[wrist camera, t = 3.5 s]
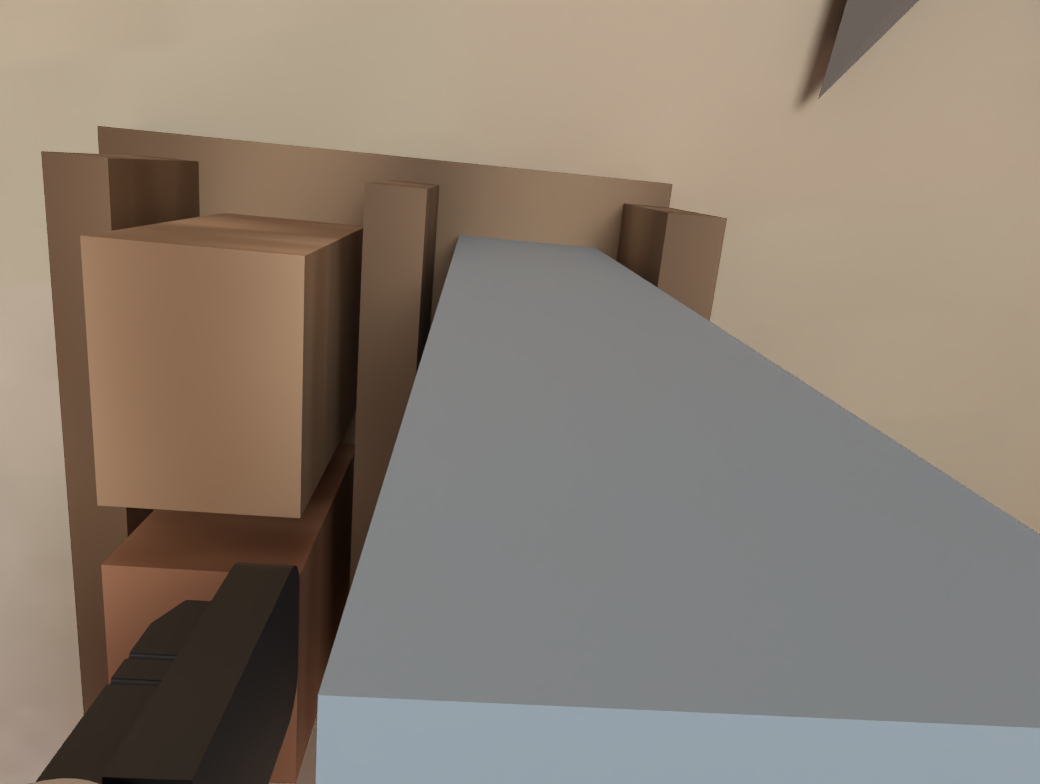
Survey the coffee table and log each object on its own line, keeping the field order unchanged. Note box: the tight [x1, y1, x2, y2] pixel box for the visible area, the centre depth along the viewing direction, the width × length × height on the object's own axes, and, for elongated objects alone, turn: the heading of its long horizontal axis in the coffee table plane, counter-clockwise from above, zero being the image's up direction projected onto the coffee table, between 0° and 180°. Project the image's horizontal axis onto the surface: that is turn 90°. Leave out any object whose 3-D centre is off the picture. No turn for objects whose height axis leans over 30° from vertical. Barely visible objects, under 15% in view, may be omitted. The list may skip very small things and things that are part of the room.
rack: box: [41, 126, 727, 715], centre depth 16 cm, size 12×12×6 cm
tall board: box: [316, 235, 1040, 784], centre depth 10 cm, size 3×9×15 cm, turn 175°
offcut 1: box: [80, 213, 363, 518], centre depth 14 cm, size 3×4×6 cm
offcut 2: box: [101, 443, 355, 783], centre depth 15 cm, size 3×4×6 cm
